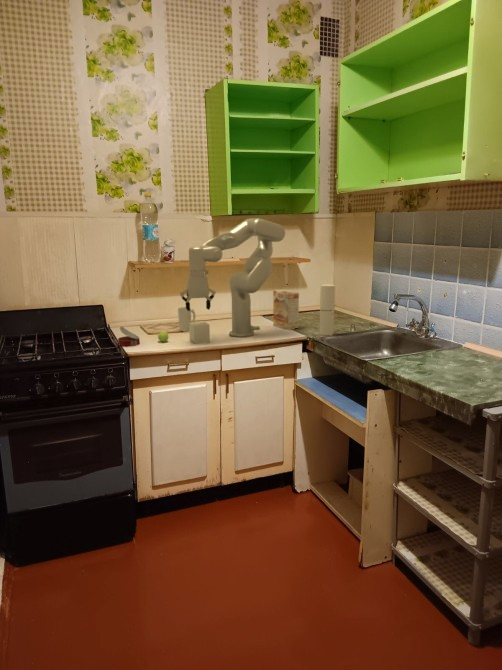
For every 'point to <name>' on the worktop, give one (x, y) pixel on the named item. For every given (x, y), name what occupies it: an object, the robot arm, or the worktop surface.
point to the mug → (185, 318)
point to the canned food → (128, 338)
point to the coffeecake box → (285, 309)
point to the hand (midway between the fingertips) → (198, 309)
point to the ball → (163, 336)
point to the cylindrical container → (327, 309)
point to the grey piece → (199, 332)
